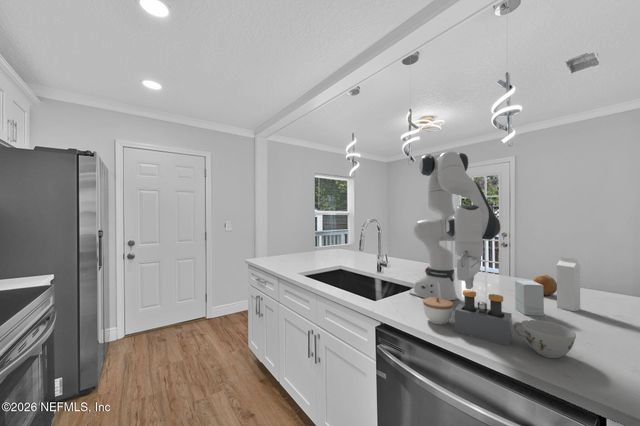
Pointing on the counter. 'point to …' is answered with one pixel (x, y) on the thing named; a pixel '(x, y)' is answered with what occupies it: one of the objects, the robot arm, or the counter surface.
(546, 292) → the onion
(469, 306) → the knob left
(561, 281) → the milk
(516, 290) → the supplement box
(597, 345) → the counter surface
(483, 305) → the shiny silver ball
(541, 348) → the teacup
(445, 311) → the lidded jar
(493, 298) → the knob right
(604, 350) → the counter surface
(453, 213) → the robot arm
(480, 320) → the mount
